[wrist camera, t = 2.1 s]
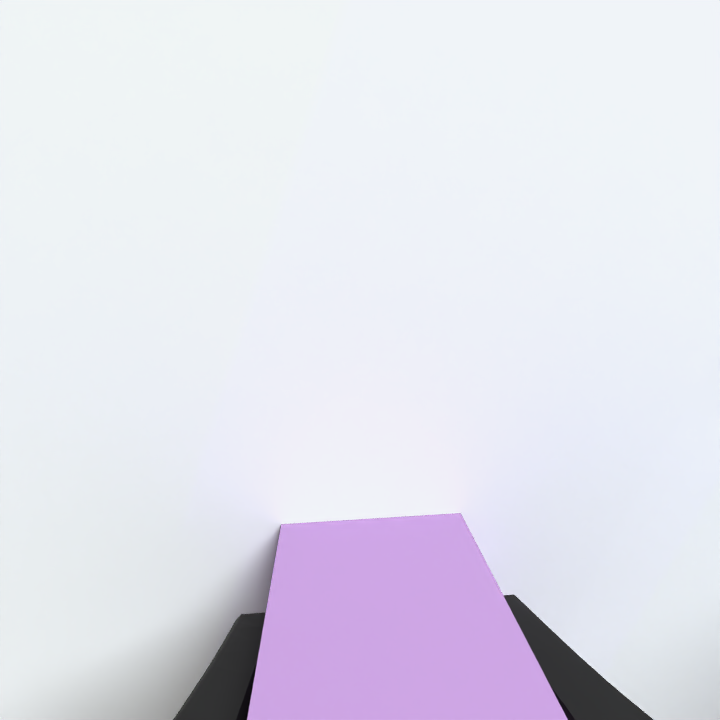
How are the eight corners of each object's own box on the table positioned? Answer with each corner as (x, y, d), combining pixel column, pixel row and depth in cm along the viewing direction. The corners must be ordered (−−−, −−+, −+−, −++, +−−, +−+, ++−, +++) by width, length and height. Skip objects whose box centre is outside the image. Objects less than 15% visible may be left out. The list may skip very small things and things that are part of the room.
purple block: (460, 512, 11) (590, 762, 5) (458, 662, 12) (568, 1006, 6) (281, 523, 11) (233, 796, 5) (292, 676, 11) (261, 1045, 6)
